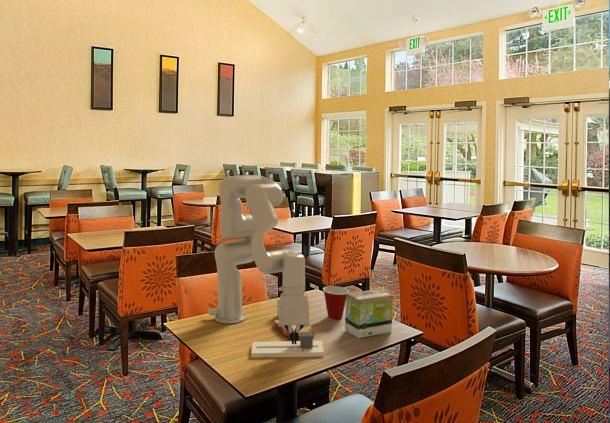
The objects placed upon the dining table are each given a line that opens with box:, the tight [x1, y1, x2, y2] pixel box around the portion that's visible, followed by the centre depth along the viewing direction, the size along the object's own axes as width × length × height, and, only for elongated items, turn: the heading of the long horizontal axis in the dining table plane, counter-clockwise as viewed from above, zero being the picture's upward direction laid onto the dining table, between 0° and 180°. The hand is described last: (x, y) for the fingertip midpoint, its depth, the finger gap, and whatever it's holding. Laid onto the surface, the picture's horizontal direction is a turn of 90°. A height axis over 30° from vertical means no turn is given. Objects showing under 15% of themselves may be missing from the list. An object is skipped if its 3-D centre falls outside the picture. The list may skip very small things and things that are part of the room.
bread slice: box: [272, 319, 315, 341], centre depth 189 cm, size 18×18×4 cm
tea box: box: [344, 288, 394, 339], centre depth 188 cm, size 15×10×15 cm, turn 117°
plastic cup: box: [322, 285, 350, 320], centre depth 205 cm, size 11×11×12 cm
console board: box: [250, 340, 325, 359], centre depth 171 cm, size 24×10×2 cm, turn 92°
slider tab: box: [300, 332, 314, 348], centre depth 171 cm, size 4×4×4 cm
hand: (294, 342), depth 171 cm, fingers closed
